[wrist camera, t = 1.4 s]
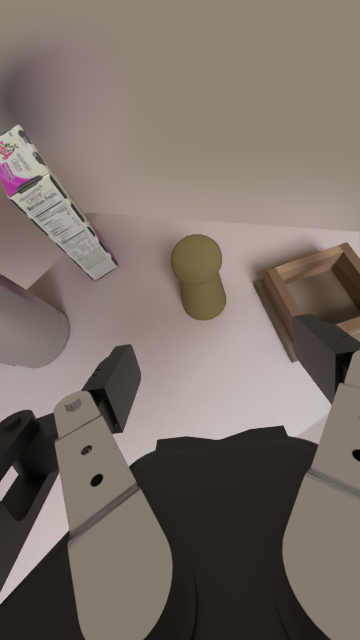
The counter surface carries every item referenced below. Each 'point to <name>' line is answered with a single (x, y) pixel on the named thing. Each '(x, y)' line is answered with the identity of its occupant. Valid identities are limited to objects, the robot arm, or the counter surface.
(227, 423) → the counter surface
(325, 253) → the walnut socket
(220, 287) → the olive knobbed peg
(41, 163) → the candy bar box
